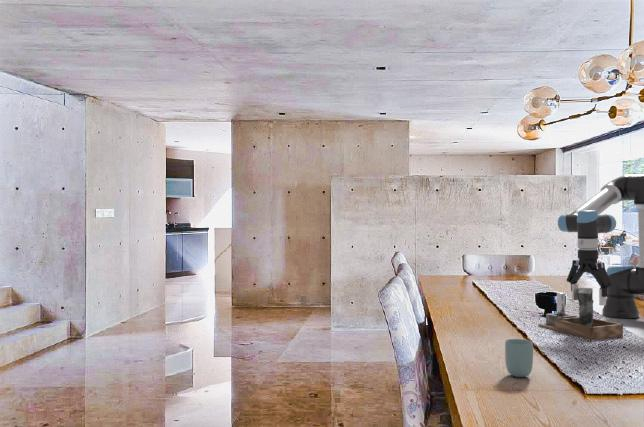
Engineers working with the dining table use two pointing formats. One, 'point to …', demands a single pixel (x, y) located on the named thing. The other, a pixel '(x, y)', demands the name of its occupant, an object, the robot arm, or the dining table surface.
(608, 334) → the board
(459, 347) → the dining table surface
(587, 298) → the stone block
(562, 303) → the rod
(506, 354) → the cup
